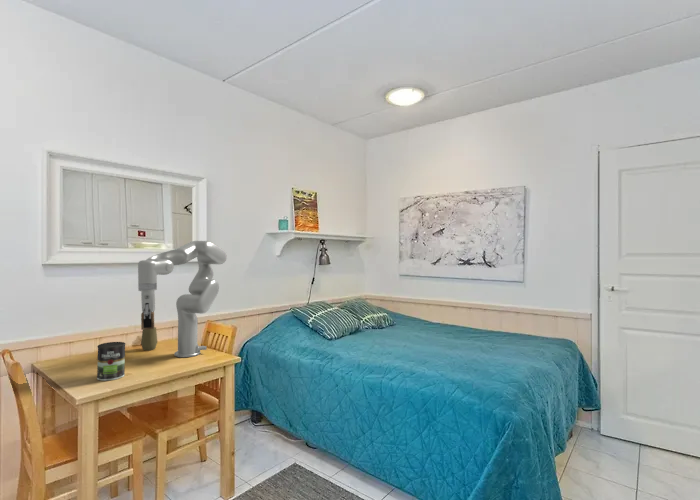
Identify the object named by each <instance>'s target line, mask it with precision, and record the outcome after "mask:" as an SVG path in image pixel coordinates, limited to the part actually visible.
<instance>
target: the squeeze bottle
mask: <svg viewBox="0 0 700 500" xmlns="http://www.w3.org/2000/svg"><path fill="white" fill-rule="evenodd" d="M141 331H142V332H141V339H140V341H141V342H140V344H141V347H142V350H143V351H148V352H149V351H154V350H156V348H157V345H158V334H157V333H158V332H157V327H156V326H154V329H144V330H141Z"/></svg>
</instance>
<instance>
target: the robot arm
mask: <svg viewBox="0 0 700 500" xmlns="http://www.w3.org/2000/svg"><path fill="white" fill-rule="evenodd" d="M193 259H197V264H198V271H197V272H196V274H195V275H194V277H193V279H192V280H191V282H190V284H189V287H188V294H187V293H185V294H182V295H180V296H179V297H177V299H176V305H175V306H176V310H177V311H176V312H177V351H175V352H174V357H177V358H191V357H195V356H199V355H200V354H201V351H207V345H199V344H198V329H199V328H198V323H199V322H198V321H199V320H198V317H197V314H205V313H207V312H208V311H209V310H210V309H211V307H212V304H213V303H214V301H215V299H216V298H217V296H218V294H219V289H220V286H219V285H220V284H219V282H218V281H217V280H216V279H213V278H214V270H213V268H212V265H223V264H225V262H226V261H227V259H228V258H227V252H226V251H225V250H224V249H223V248H221V247H220V246H218V245H216V244H215V243H213V242H212V241H209V240H193V241H190V242H188V243H186V244H184V245H182V246H179V247H178V248H175V249H171V250H168V251H163V252H160V253H157V254H155V255H152V256H150V257H148V258H146V260H145V259H143V260H139V261H138V262H137V279H138V280H137V283H138V284H137V288H138V292H141V293H140V294H141V295H140V297H141V300H140V301H141V313H142V312H143V313H144V328H150V327H152V318H151V312H154V313H155V310H156V296H155V294H156V293H155V291H157V290H158V288H157V287H158V285H157V284H158V282H157V280H158V275H159V276H160V275H161V276H167V275H169V274H171V273H172V272H173V271H174V269H175V267H174V266H180V265H184V264H186V263H188V262H190V261H192V260H193ZM189 293H190V294H189Z"/></svg>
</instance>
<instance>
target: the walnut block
mask: <svg viewBox="0 0 700 500" xmlns="http://www.w3.org/2000/svg"><path fill="white" fill-rule="evenodd" d="M151 318H152V327H150V328H144V313H143V312H142V311H141V314H140V323H141V325H140V326H141V331H143V330H144V329H154V327H155V311H154V312H153V311H152V312H151Z"/></svg>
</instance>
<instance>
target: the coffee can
mask: <svg viewBox="0 0 700 500" xmlns="http://www.w3.org/2000/svg"><path fill="white" fill-rule="evenodd" d="M125 359H126V342H124V341H110V342H103V343H100V344H98V345H97V368H96V369H97V371H96V373H97V374H96V377H97V378H96V380H98V381H101V382H105V381H106V382H108V381H110V382H111V381H115V380H119V379H122V378H124V377H125V367H126V365H125V364H126V361H125Z"/></svg>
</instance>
